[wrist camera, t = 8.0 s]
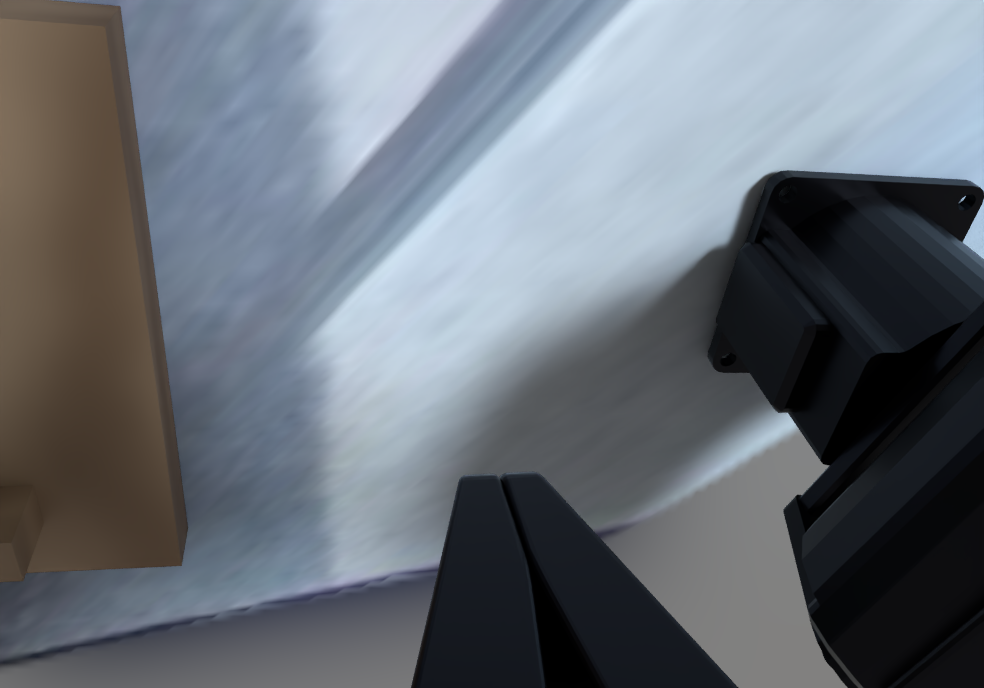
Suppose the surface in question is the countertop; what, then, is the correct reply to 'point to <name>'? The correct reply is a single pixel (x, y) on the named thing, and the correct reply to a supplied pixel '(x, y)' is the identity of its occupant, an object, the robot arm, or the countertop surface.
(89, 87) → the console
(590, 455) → the countertop surface
